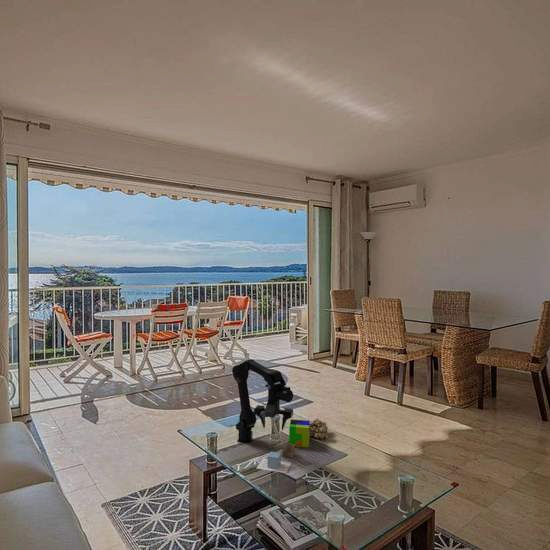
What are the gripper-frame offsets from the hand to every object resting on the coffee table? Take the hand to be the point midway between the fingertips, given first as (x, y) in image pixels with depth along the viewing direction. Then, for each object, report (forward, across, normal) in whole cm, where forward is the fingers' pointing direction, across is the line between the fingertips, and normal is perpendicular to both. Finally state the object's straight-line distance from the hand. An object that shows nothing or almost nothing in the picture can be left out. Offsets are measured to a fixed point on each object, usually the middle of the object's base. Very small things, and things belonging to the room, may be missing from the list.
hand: (273, 428), depth 198 cm
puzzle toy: (+12, +10, +16) cm, 22 cm away
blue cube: (+12, +4, -12) cm, 17 cm away
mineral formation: (+12, +18, +28) cm, 35 cm away
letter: (+12, +4, -12) cm, 17 cm away
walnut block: (+12, +8, 0) cm, 14 cm away
